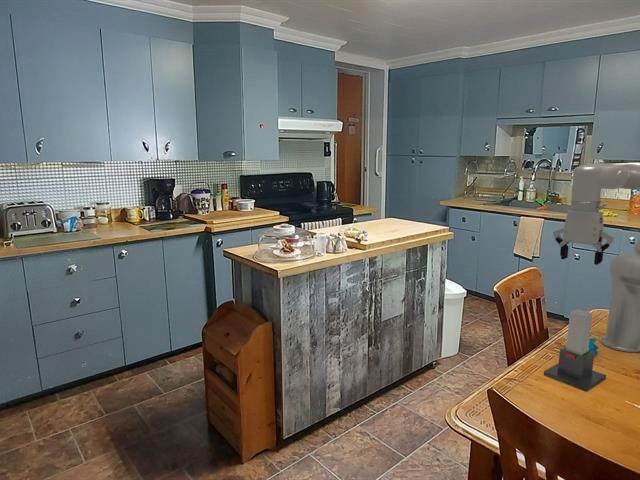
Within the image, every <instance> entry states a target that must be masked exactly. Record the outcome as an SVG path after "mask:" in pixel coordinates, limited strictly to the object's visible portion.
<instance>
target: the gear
mask: <svg viewBox="0 0 640 480" xmlns="http://www.w3.org/2000/svg"><path fill="white" fill-rule="evenodd" d="M591 337H592V334H591V333H590V340H589V350H590V351H594V357H596V356H597V355H598V354H599V353H600V352H599V351H598V350H599V349H600V348H599V345H598V344H596V342H597V340H598V339H597V338H596V337H593V338H591Z"/></svg>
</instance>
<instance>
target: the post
mask: <svg viewBox="0 0 640 480" xmlns="http://www.w3.org/2000/svg"><path fill="white" fill-rule="evenodd" d="M568 319H569V320H568V329H567V339H566V346H565V347H566V351H568V352H571V353H574V354H577V355H580V356H583V355H585V354H587V353H588V352H589V340H590V338H591V336H590V334H591V329H592V321H593V312H589V311H585V310H582V309H578V308H576V309H573V310H572V311H569V318H568Z"/></svg>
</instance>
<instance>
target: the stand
mask: <svg viewBox="0 0 640 480" xmlns="http://www.w3.org/2000/svg"><path fill="white" fill-rule="evenodd" d="M558 356H559V357H558V363H556V364H554V365H552V366H551V367H549V368H546V370H544V371H543V376H545V377H547V378H549V379H550V378H551V379H553V380H556V381H558V382H560V383H563V384H566V385H568V386H569V387H574V388H576V389H577V390H581V391H584V392H586V393H587V392H589V391H590V390H591V389H593V388H596V386H597V385H599V384H600V383H602V382H604V381H605V380H606V379H607V375H606V374H604V373H601V372H598V371H596V370H593V367H594V360H595V356H594V351H590V350H589V352H588V353H587V354H585V355H583V356H580V355H577V354H574V353H571V352H568V351H566V346H565V347H563V348H560V349H559V354H558Z"/></svg>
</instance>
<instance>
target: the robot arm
mask: <svg viewBox="0 0 640 480" xmlns="http://www.w3.org/2000/svg"><path fill="white" fill-rule="evenodd" d="M571 187H572V188H571V200H570V209H569V210H568V211H567V213H566V217H565V222H564V227H563V228H561V229H557V230H555V231H554V230H553V232H552V234H553V236H554V239H555V241H556V243H557V244H558V246H559V247H560V249H559V250H560V252H559V253H560V254H559V256H560V259H561V260H565V259H568V257H569V245H568V244H569V243H574V244H581V245H587V246H589V245H591V246H593V248H595V250H596V251H595V252H594V261H593V262H594V263H593V264H594V265H595V266H597V265H600V264H601V263H602V262H603V259H604V251H606V250H607V249H608V248H611V246H612V244H613V243H614V242H615V240H616V238H615V237H614V236H612V235H610V234H608V233H607V232H605V231H604V228H605V227H604V215H603V214H604V213H603V211H600V210H601V209H605V206H606V205H605V204H603V203H601V191H602V189H603V190H604V189H605V190H617V189H624V190H625V189H627V190H640V162H638V161H637V162H625V163H624V162H623V163H621V162H620V163H587V164H585V165H579V166H577V167H575V168H573V173H572V186H571ZM561 234H563V236H562V237H563V238H562V237H561ZM604 240H606V242H605V244H602V242H603V241H604ZM633 248H634V249H633V250H634V252H635V254H634V253H620V254H618V255H616V256H615V257H613V259H612V260H611V263H610V272H609V273H610V279H611V290H610V291H611V292H610V299H609V306H608V316H607V325H606V333H605V334H603V335H600V338H599V341H600V343H601V344H602V345H603V346H606V347H608V348H610V349H614V350H617V351H620V352H625V353H639V352H640V238H638V240H637V241H636V243H635V244H634V247H633Z"/></svg>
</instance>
